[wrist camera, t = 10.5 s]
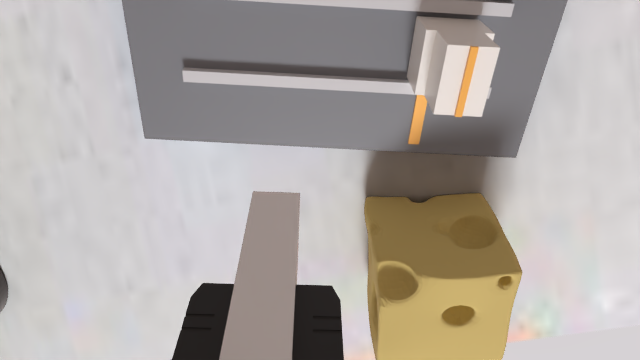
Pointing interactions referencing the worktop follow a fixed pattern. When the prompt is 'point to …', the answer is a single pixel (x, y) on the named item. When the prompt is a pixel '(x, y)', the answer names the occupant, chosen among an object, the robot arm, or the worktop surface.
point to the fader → (452, 64)
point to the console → (327, 72)
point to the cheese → (438, 278)
